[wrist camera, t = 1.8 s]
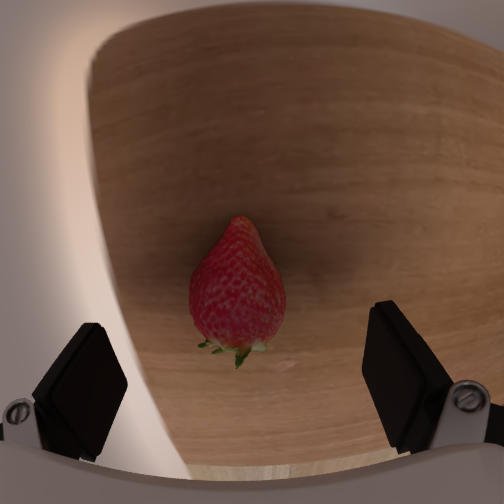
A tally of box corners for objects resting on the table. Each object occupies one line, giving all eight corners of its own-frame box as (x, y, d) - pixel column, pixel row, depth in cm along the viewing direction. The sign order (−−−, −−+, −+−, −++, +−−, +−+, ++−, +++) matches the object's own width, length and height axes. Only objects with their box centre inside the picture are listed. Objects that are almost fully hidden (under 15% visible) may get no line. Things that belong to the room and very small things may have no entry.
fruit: (295, 216, 14) (317, 259, 9) (273, 323, 16) (280, 392, 11) (203, 204, 13) (177, 241, 9) (195, 314, 16) (176, 380, 11)
